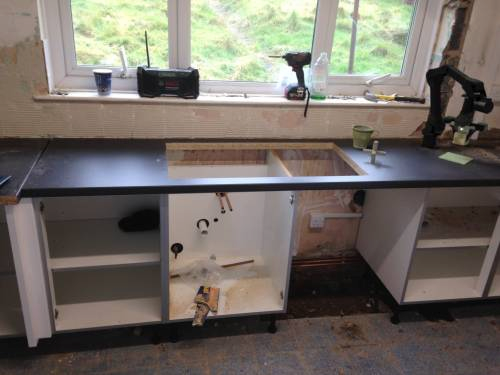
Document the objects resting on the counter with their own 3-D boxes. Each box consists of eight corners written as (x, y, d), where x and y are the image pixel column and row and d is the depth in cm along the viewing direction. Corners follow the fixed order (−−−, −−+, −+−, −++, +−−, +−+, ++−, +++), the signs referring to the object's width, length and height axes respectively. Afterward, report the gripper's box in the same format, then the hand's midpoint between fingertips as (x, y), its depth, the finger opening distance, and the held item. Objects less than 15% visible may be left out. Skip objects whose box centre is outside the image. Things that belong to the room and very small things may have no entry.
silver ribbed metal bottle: (469, 147, 223) (479, 109, 215) (455, 145, 224) (465, 108, 216) (466, 143, 229) (475, 107, 221) (452, 142, 230) (462, 105, 222)
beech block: (452, 142, 202) (454, 132, 200) (456, 140, 205) (458, 130, 203) (463, 145, 199) (465, 135, 197) (467, 143, 202) (469, 133, 200)
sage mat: (438, 157, 205) (438, 156, 205) (448, 152, 213) (448, 152, 213) (464, 164, 197) (464, 163, 197) (473, 159, 205) (473, 158, 205)
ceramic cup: (349, 148, 211) (352, 129, 207) (350, 142, 220) (352, 124, 216) (376, 151, 209) (379, 132, 205) (375, 145, 217) (379, 126, 213)
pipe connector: (384, 160, 197) (388, 140, 193) (383, 167, 188) (387, 146, 184) (362, 157, 199) (365, 137, 195) (360, 164, 191) (363, 143, 187)
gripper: (441, 106, 196) (433, 139, 202) (484, 115, 184) (474, 149, 190) (450, 103, 203) (443, 135, 210) (492, 111, 192) (483, 144, 198)
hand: (460, 141), depth 202 cm, fingers closed on beech block, 5 cm apart
